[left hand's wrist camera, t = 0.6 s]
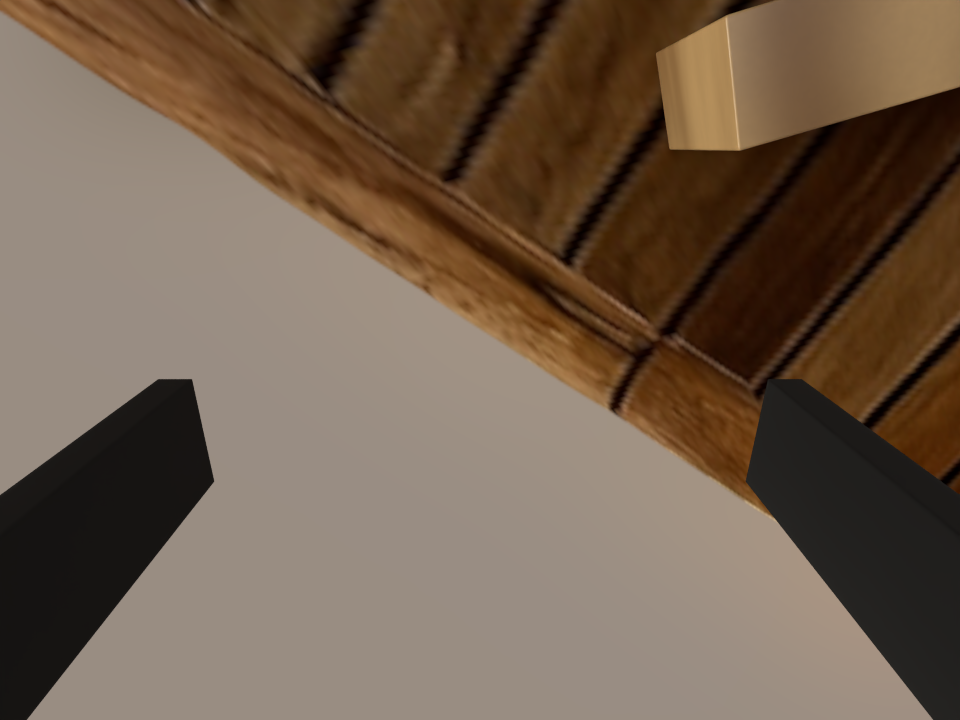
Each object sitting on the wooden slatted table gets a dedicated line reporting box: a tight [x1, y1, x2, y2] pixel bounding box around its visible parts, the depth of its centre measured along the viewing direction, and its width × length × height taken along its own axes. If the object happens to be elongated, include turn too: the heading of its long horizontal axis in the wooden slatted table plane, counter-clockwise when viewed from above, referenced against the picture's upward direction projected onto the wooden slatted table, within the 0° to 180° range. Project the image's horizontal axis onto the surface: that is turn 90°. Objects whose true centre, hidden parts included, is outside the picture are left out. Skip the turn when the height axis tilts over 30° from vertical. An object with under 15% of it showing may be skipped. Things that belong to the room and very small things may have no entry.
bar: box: [656, 0, 960, 151], centre depth 25 cm, size 24×5×9 cm, turn 106°
